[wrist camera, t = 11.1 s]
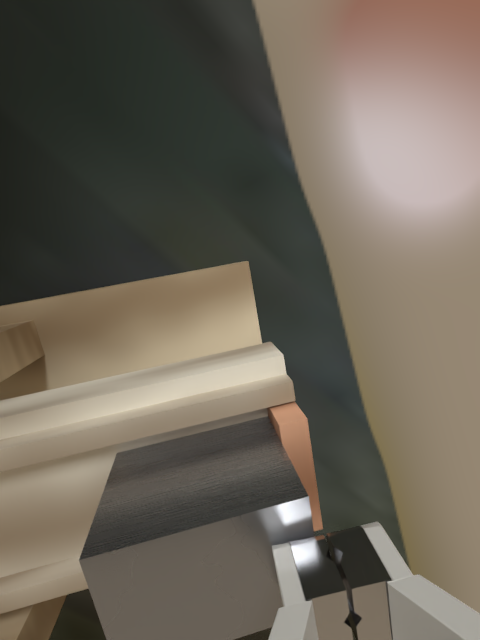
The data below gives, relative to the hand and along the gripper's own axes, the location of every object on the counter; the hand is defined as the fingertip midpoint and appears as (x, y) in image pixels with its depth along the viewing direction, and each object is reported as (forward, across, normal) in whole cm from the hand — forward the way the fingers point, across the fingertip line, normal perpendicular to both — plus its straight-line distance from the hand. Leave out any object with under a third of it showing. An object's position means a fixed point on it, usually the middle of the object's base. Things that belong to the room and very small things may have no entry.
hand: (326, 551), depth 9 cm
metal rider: (+4, +4, 0) cm, 6 cm away
